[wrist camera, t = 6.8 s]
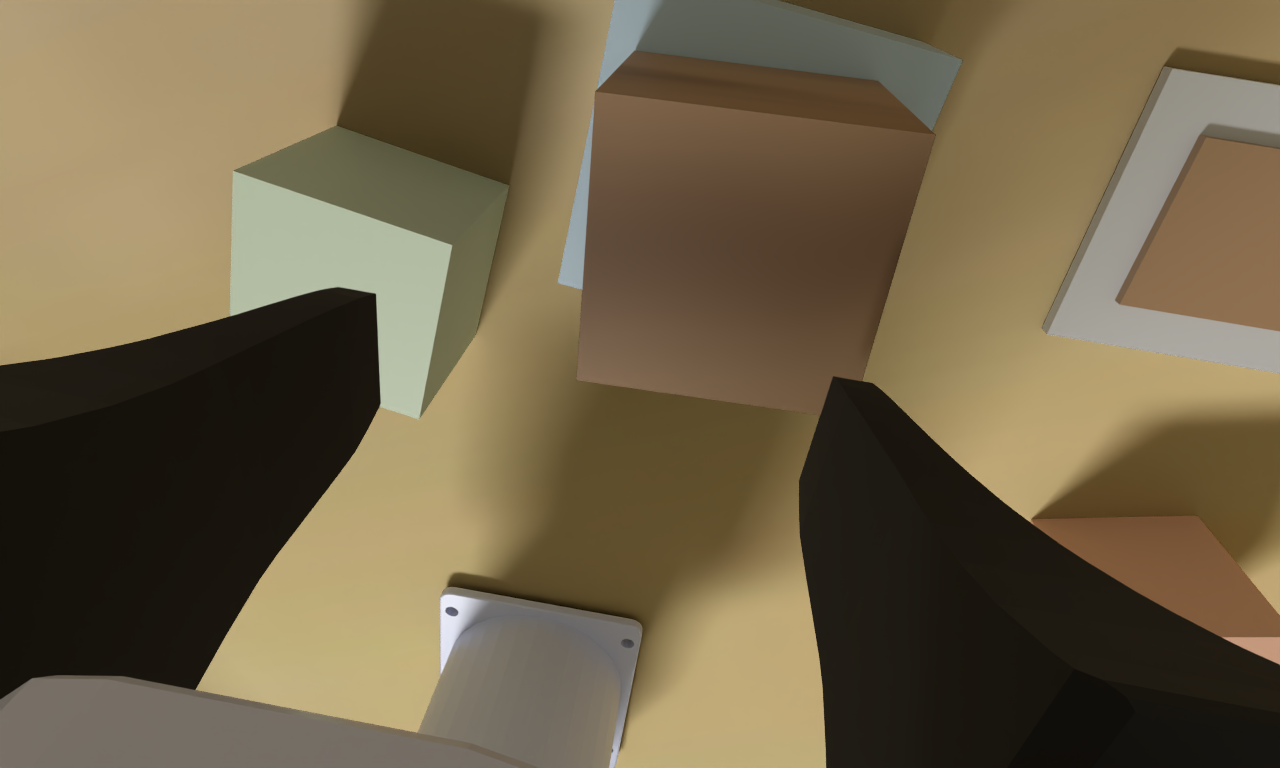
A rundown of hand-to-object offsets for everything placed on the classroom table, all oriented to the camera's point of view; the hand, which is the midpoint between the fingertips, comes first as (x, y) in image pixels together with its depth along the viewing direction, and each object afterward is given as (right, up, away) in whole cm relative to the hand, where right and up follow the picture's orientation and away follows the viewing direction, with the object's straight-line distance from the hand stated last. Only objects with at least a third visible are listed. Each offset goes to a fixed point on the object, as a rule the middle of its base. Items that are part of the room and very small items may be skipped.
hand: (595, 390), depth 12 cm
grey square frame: (+16, +4, +8) cm, 18 cm away
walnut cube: (+3, +5, +5) cm, 7 cm away
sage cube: (-6, +5, +10) cm, 13 cm away
